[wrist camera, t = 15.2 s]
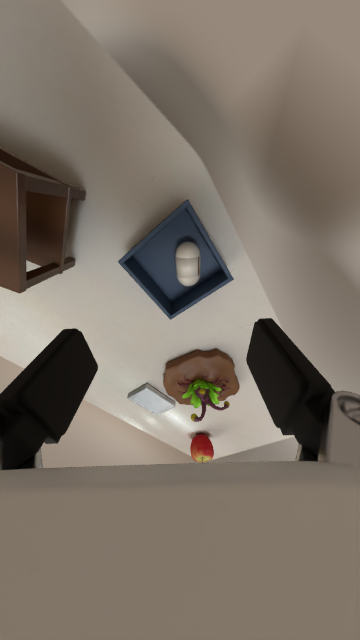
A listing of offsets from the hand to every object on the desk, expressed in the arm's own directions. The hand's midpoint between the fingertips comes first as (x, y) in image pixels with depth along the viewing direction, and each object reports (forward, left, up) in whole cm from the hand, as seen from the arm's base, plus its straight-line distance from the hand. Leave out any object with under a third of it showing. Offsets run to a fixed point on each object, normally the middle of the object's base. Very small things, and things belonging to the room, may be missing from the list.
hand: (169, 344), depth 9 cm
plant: (+26, +20, -23) cm, 40 cm away
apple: (+56, +38, -23) cm, 71 cm away
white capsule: (+1, +1, -22) cm, 22 cm away
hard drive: (+41, +12, -23) cm, 48 cm away
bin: (+1, +1, -23) cm, 23 cm away
